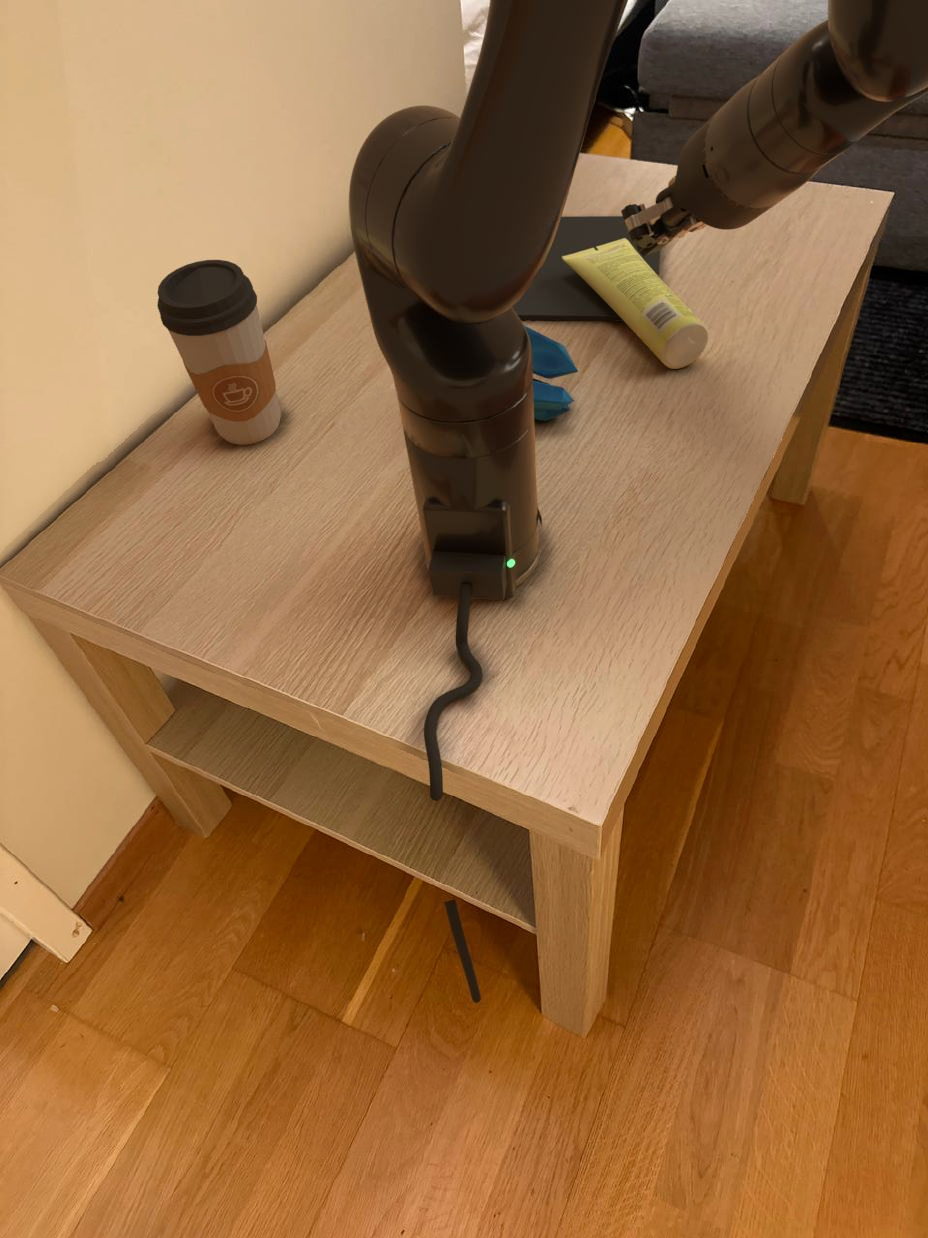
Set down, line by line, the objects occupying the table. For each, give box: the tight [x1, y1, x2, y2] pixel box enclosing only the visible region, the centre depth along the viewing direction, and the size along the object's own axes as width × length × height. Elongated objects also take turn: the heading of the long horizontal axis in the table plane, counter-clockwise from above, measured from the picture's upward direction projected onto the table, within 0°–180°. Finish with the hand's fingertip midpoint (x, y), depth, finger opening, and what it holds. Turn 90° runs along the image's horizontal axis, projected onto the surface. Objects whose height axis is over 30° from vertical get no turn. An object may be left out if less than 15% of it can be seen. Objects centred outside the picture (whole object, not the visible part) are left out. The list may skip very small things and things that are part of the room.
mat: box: [512, 215, 661, 322], centre depth 98 cm, size 20×22×1 cm
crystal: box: [524, 325, 579, 422], centre depth 81 cm, size 7×9×12 cm
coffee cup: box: [156, 259, 282, 445], centre depth 81 cm, size 8×8×15 cm
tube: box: [562, 238, 709, 370], centre depth 90 cm, size 6×5×20 cm
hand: (644, 242), depth 78 cm, fingers closed
